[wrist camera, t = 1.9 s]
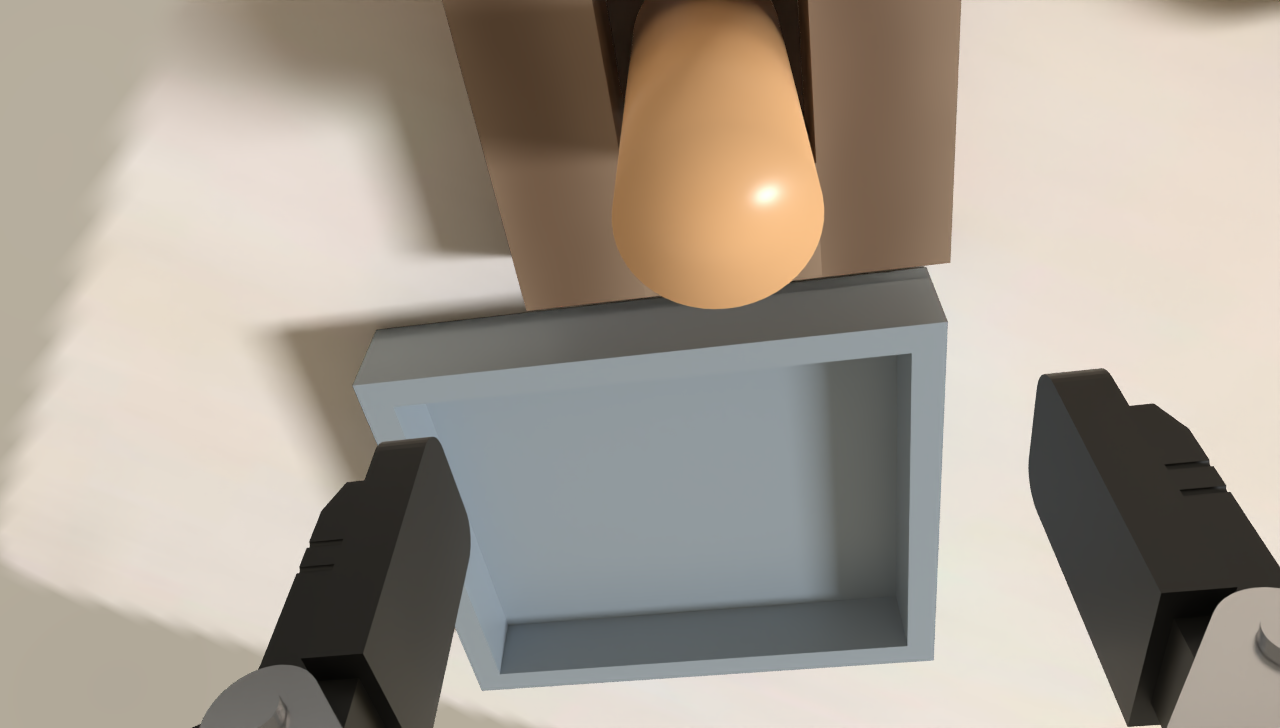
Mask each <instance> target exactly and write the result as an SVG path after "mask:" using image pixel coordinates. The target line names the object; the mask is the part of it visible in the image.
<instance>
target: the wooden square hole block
mask: <svg viewBox="0 0 1280 728" xmlns="http://www.w3.org/2000/svg"><path fill="white" fill-rule="evenodd" d="M442 2H443V5H444V9H445V13H446V16H447V20H448V24H449V27H450V31H451V35H452V38H453V42H454V46H455V49H456V53H457V57H458V60H459V64H460V68H461V72H462V75H463V79H464V83H465V86H466V90H467V94H468V97H469V101H470V105H471V108H472V112H473V116H474V119H475V123H476V127H477V130H478V134H479V138H480V141H481V145H482V149H483V152H484V156H485V160H486V164H487V167H488V171H489V175H490V178H491V182H492V186H493V189H494V193H495V197H496V200H497V204H498V208H499V211H500V215H501V219H502V222H503V226H504V230H505V233H506V237H507V241H508V245H509V248H510V252H511V256H512V259H513V263H514V267H515V270H516V274H517V278H518V281H519V285H520V289H521V292H522V296H523V300H524V303H525V307H526V311H531V310H540V309H549V308H557V307H566V306H575V305H584V304H592V303H601V302H610V301H619V300H627V299H636V298H645V297H654V296H661V295H659V294H657V293H655V292H654V291H652V290H651V289H649V288H648V287H647V286H645V285H644V284H643V283H642V282H641V281H640V280H639V279H638V278H637V277H635V275H634V274H633V273H632V272H631V271H630V269H629V268H628V267H627V265H626V264H625V262H624V260H623V259H622V257H621V255H620V253H619V250H618V248H617V246H616V242H615V239H614V235H613V228H612V205H613V197H614V189H615V180H616V172H617V164H618V155H619V147H620V138H621V130H622V122H623V113H624V102H623V96H622V90H621V84H620V78H619V73H618V67H617V61H616V55H615V49H614V44H613V38H612V32H611V26H610V20H609V15H608V9H607V3H606V0H442ZM960 16H961V0H798V17H799V34H800V52H801V69H802V87H803V104H804V117H803V119H804V123H805V127H806V131H807V135H808V139H809V143H810V147H811V151H812V155H813V159H814V163H815V167H816V171H817V175H818V179H819V183H820V187H821V191H822V195H823V202H824V223H823V229H822V234H821V237H820V240H819V243H818V245H817V247H816V250H815V252H814V254H813V256H812V257H811V259H810V260H809V262H808V263H807V265H806V266H805V267H804V268H803V270H802V271H801V272H800V273H799V274H798V275H797V276H796V277H795V278H794V279H793V280H792V281H794V280H803V279H811V278H820V277H829V276H838V275H846V274H855V273H864V272H873V271H881V270H890V269H899V268H908V267H916V266H925V265H934V264H943V263H950V256H951V232H952V208H953V184H954V160H955V136H956V112H957V88H958V64H959V40H960Z"/></svg>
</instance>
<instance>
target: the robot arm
mask: <svg viewBox="0 0 1280 728" xmlns="http://www.w3.org/2000/svg"><path fill="white" fill-rule="evenodd" d="M1029 481H1030V488H1031V493H1032V497H1033V501H1034V505H1035V508H1036V510H1037V513H1038V515H1039V517H1040V520H1041V522H1042V525H1043V527H1044V529H1045V532H1046V534H1047V536H1048V539H1049V541H1050V544H1051V546H1052V548H1053V551H1054V553H1055V555H1056V558H1057V560H1058V563H1059V565H1060V567H1061V570H1062V572H1063V574H1064V577H1065V579H1066V582H1067V584H1068V586H1069V589H1070V591H1071V593H1072V596H1073V598H1074V601H1075V603H1076V605H1077V608H1078V610H1079V612H1080V615H1081V617H1082V620H1083V622H1084V624H1085V627H1086V629H1087V631H1088V634H1089V636H1090V639H1091V641H1092V643H1093V646H1094V648H1095V650H1096V653H1097V655H1098V658H1099V660H1100V662H1101V665H1102V667H1103V669H1104V672H1105V674H1106V677H1107V679H1108V681H1109V684H1110V686H1111V688H1112V691H1113V693H1114V696H1115V698H1116V700H1117V703H1118V705H1119V707H1120V710H1121V712H1122V715H1123V717H1124V719H1125V722H1126V724H1127V726H1128V727H1132V726H1148V725H1161V727H1162V728H1280V567H1279V565H1278V564H1277V562H1276V561H1275V559H1274V558H1273V556H1272V555H1271V553H1270V552H1269V550H1268V548H1267V547H1266V545H1265V544H1264V542H1263V541H1262V539H1261V538H1260V536H1259V535H1258V533H1257V532H1256V530H1255V529H1254V527H1253V526H1252V524H1251V523H1250V521H1249V520H1248V518H1247V516H1246V515H1245V513H1244V512H1243V510H1242V509H1241V507H1240V506H1239V504H1238V503H1237V501H1236V500H1235V498H1234V497H1233V495H1232V494H1231V492H1227V490H1226V485H1225V483H1224V481H1223V480H1222V478H1221V477H1220V475H1219V474H1218V472H1217V471H1216V469H1215V468H1214V466H1210V464H1209V459H1208V457H1207V456H1206V454H1205V453H1204V451H1203V449H1202V448H1201V446H1200V445H1199V443H1198V442H1197V440H1196V439H1195V437H1194V436H1193V434H1192V433H1191V431H1190V430H1189V429H1188V428H1187V427H1186V426H1184V425H1183V424H1181V423H1180V422H1179V421H1177V420H1176V419H1175V418H1173V417H1172V416H1170V415H1169V414H1168V413H1166V412H1165V411H1163V410H1162V409H1161V408H1159V407H1158V406H1157V405H1155V404H1144V405H1134V406H1129V405H1128V403H1127V401H1126V400H1125V398H1124V396H1123V394H1122V393H1121V391H1120V389H1119V388H1118V386H1117V384H1116V383H1115V381H1114V379H1113V378H1112V376H1111V375H1110V373H1109V372H1108V371H1107V370H1105V369H1102V368H1100V369H1091V370H1081V371H1071V372H1062V373H1052V374H1044V375H1042V376H1041V377H1040V379H1039V381H1038V385H1037V392H1036V401H1035V410H1034V418H1033V427H1032V436H1031V445H1030V454H1029ZM309 543H310V548H307V549H306V551H305V554H304V556H303V559H302V561H301V564H300V566H299V568H300V573H297V574H296V577H295V579H294V582H293V584H292V587H291V589H290V592H289V594H288V597H287V599H286V602H285V604H284V607H283V609H282V612H281V614H280V617H279V619H278V622H277V624H276V627H275V630H274V632H273V635H272V637H271V640H270V642H269V645H268V647H267V650H266V652H265V655H264V657H263V660H262V663H261V665H260V667H259V669H258V670H256V671H254V672H251V673H249V674H247V675H246V676H244V677H242V678H240V679H239V680H237V681H236V682H235V683H233V684H232V685H230V686H229V687H228V688H227V689H226V690H224V691H223V692H222V693H221V694H220V695H219V696H218V698H217V699H216V700H215V701H214V702H213V704H212V705H211V706H210V708H209V709H208V711H207V712H206V714H205V716H204V718H203V720H202V723H201V724H200V725H198V726H195V727H193V728H433V725H434V721H435V716H436V711H437V707H438V702H439V698H440V693H441V688H442V684H443V679H444V674H445V670H446V665H447V660H448V656H449V651H450V647H451V642H452V637H453V633H454V628H455V623H456V619H457V614H458V609H459V605H460V600H461V596H462V591H463V586H464V582H465V577H466V572H467V568H468V563H469V558H470V550H471V535H470V526H469V520H468V516H467V513H466V510H465V507H464V504H463V501H462V499H461V496H460V493H459V491H458V488H457V485H456V483H455V480H454V477H453V474H452V472H451V469H450V466H449V464H448V461H447V458H446V456H445V453H444V450H443V448H442V445H441V443H440V442H439V440H438V439H437V438H436V437H423V438H414V439H404V440H395V441H385V442H381V443H380V444H379V445H378V446H377V448H376V450H375V453H374V456H373V458H372V461H371V464H370V467H369V469H368V472H367V475H366V478H365V481H356V482H347V483H346V484H345V485H344V486H343V487H342V488H341V489H340V491H339V492H338V493H337V494H336V495H335V496H334V497H333V499H332V500H331V501H330V502H329V503H328V504H327V505H326V507H325V508H324V509H323V510H322V511H321V514H320V516H319V519H318V521H317V524H316V526H315V529H314V531H313V534H312V536H311V539H310V541H309Z"/></svg>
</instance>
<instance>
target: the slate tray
mask: <svg viewBox="0 0 1280 728" xmlns="http://www.w3.org/2000/svg"><path fill="white" fill-rule="evenodd" d="M947 328H948V321H947V319H946V316H945V314H944V311H943V308H942V306H941V303H940V301H939V298H938V296H937V293H936V291H935V288H934V285H933V283H932V280H931V278H930V275H929V273H928V270H927V268H926V267H925V268H916V269H907V270H898V271H890V272H881V273H872V274H863V275H854V276H846V277H837V278H828V279H819V280H811V281H802V282H793V283H789V284H787V285H786V286H784V287H783V288H782V289H780V290H779V291H777V292H776V293H774V294H772V295H770V296H768V297H766V298H764V299H762V300H759V301H757V302H754V303H751V304H747V305H744V306H740V307H734V308H727V309H702V308H696V307H690V306H686V305H683V304H679V303H676V302H673V301H671V300H669V299H666V298H664V297H661V298H653V299H644V300H635V301H626V302H617V303H609V304H600V305H591V306H582V307H574V308H565V309H556V310H547V311H538V312H530V313H521V314H512V315H503V316H495V317H486V318H477V319H468V320H459V321H451V322H442V323H433V324H424V325H416V326H407V327H398V328H389V329H380V330H376V332H375V334H374V337H373V339H372V341H371V344H370V346H369V348H368V351H367V353H366V355H365V358H364V360H363V362H362V365H361V367H360V369H359V372H358V374H357V376H356V379H355V381H354V383H353V385H352V386H353V388H354V391H355V393H356V395H357V398H358V400H359V402H360V405H361V407H362V409H363V412H364V414H365V416H366V419H367V421H368V424H369V426H370V428H371V431H372V433H373V435H374V438H375V440H376V442H377V445H379V444H380V443H381V442H385V441H395V440H404V439H414V438H423V437H436V438H437V439H438V440H439V442H440V443H441V445H442V448H443V450H444V453H445V456H446V458H447V461H448V464H449V466H450V469H451V472H452V474H453V477H454V480H455V483H456V485H457V488H458V491H459V493H460V496H461V499H462V501H463V504H464V507H465V510H466V513H467V516H468V520H469V526H470V535H471V550H470V558H469V563H468V568H467V572H466V577H465V582H464V586H463V591H462V596H461V600H460V605H459V609H458V614H457V619H456V623H455V628H456V631H457V633H458V635H459V638H460V640H461V643H462V645H463V647H464V650H465V652H466V654H467V657H468V659H469V661H470V664H471V666H472V668H473V671H474V673H475V675H476V678H477V680H478V683H479V685H480V687H481V690H482V691H485V690H500V689H515V688H530V687H545V686H559V685H574V684H589V683H604V682H619V681H634V680H649V679H663V678H678V677H693V676H708V675H723V674H738V673H752V672H767V671H782V670H797V669H812V668H827V667H842V666H856V665H871V664H886V663H901V662H916V661H931V660H934V640H935V616H936V592H937V568H938V544H939V520H940V496H941V472H942V448H943V424H944V400H945V376H946V352H947Z"/></svg>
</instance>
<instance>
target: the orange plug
mask: <svg viewBox="0 0 1280 728" xmlns="http://www.w3.org/2000/svg"><path fill="white" fill-rule="evenodd" d="M823 223H824V202H823V195H822V191H821V187H820V183H819V179H818V175H817V171H816V167H815V163H814V159H813V155H812V151H811V147H810V143H809V139H808V135H807V131H806V127H805V123H804V119H803V115H802V111H801V107H800V103H799V99H798V95H797V91H796V87H795V83H794V79H793V75H792V71H791V67H790V63H789V59H788V55H787V51H786V47H785V43H784V39H783V35H782V31H781V27H780V23H779V20H778V16H777V12H776V10H775V8H774V5H773V3H772V2H771V0H645V1H644V2H643V4H642V6H641V8H640V10H639V12H638V14H637V18H636V21H635V25H634V31H633V38H632V46H631V55H630V63H629V71H628V80H627V88H626V96H625V105H624V113H623V122H622V130H621V138H620V147H619V155H618V164H617V172H616V180H615V189H614V197H613V205H612V228H613V235H614V239H615V242H616V246H617V248H618V250H619V253H620V255H621V257H622V259H623V260H624V262H625V264H626V265H627V267H628V268H629V269H630V271H631V272H632V273H633V274H634V275H635V277H637V278H638V279H639V280H640V281H641V282H642V283H643V284H644V285H645V286H647V287H648V288H649V289H651V290H652V291H654V292H655V293H657V294H659V295H661V296H662V297H664V298H666V299H669V300H671V301H673V302H676V303H679V304H683V305H686V306H690V307H696V308H702V309H727V308H734V307H740V306H744V305H747V304H751V303H754V302H757V301H759V300H762V299H764V298H766V297H768V296H770V295H772V294H774V293H776V292H777V291H779V290H780V289H782V288H783V287H784V286H786V285H787V284H789V283H790V282H791V281H792V280H793V279H794V278H795V277H796V276H797V275H798V274H799V273H800V272H801V271H802V270H803V268H804V267H805V266H806V265H807V263H808V262H809V260H810V259H811V257H812V256H813V254H814V252H815V250H816V247H817V245H818V243H819V240H820V237H821V234H822V229H823Z"/></svg>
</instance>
